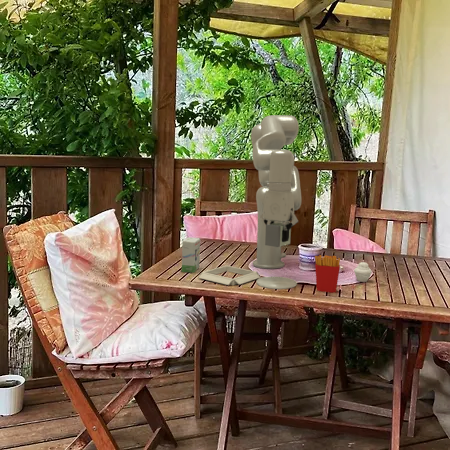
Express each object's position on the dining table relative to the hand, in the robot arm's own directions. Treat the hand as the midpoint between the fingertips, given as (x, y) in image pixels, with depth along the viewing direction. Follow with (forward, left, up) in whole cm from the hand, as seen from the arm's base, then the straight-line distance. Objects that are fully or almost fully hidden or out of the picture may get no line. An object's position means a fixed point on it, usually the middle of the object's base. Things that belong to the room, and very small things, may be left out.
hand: (278, 239), depth 183 cm
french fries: (-4, +17, -16) cm, 24 cm away
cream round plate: (0, 0, -16) cm, 16 cm away
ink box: (+6, -35, -16) cm, 39 cm away
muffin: (-24, +21, -16) cm, 36 cm away
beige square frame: (+5, -17, -16) cm, 24 cm away
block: (0, 0, -2) cm, 2 cm away
